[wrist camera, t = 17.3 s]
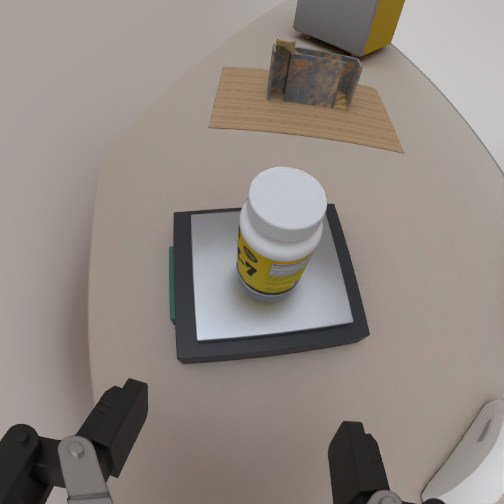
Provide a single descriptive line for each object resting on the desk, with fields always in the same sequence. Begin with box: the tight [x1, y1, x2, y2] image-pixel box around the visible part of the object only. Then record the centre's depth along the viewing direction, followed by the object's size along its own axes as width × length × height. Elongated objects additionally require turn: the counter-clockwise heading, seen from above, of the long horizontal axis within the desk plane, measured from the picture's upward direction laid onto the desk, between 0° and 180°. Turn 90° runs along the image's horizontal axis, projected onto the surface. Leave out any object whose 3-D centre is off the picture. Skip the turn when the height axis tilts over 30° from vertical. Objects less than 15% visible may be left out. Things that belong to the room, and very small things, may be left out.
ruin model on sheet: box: [209, 39, 404, 153], centre depth 34 cm, size 25×16×10 cm, turn 88°
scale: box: [169, 204, 370, 364], centre depth 24 cm, size 14×12×2 cm
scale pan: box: [191, 211, 354, 343], centre depth 23 cm, size 11×10×1 cm
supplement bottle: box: [236, 167, 327, 297], centre depth 19 cm, size 5×5×8 cm
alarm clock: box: [293, 0, 405, 58], centre depth 44 cm, size 20×16×18 cm
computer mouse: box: [421, 399, 504, 504], centre depth 15 cm, size 6×13×6 cm, turn 129°
